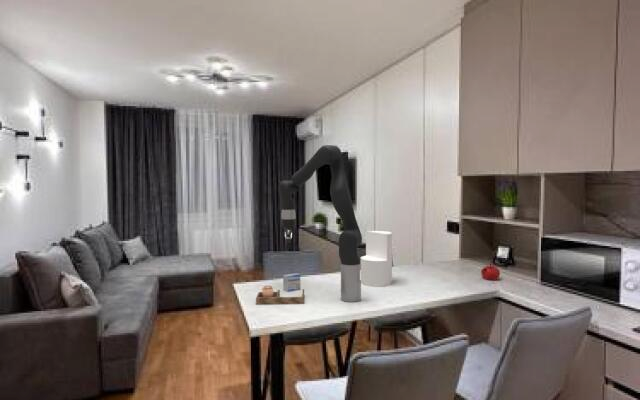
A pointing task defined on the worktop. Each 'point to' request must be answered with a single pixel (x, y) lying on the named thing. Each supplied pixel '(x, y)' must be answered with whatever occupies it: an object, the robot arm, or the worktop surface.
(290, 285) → the medicine box
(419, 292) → the worktop surface
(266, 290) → the terracotta jar
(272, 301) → the caddy
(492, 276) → the pomegranate
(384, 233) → the white stepped solid
